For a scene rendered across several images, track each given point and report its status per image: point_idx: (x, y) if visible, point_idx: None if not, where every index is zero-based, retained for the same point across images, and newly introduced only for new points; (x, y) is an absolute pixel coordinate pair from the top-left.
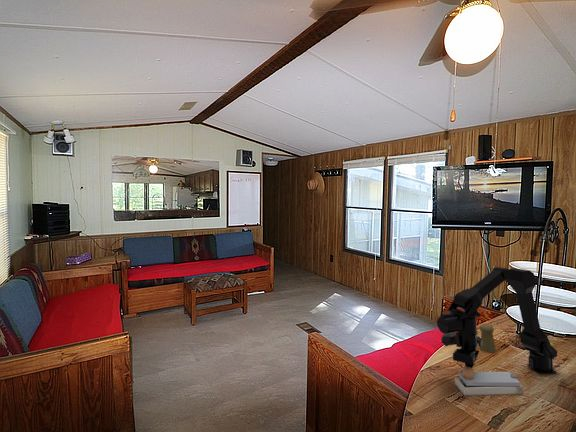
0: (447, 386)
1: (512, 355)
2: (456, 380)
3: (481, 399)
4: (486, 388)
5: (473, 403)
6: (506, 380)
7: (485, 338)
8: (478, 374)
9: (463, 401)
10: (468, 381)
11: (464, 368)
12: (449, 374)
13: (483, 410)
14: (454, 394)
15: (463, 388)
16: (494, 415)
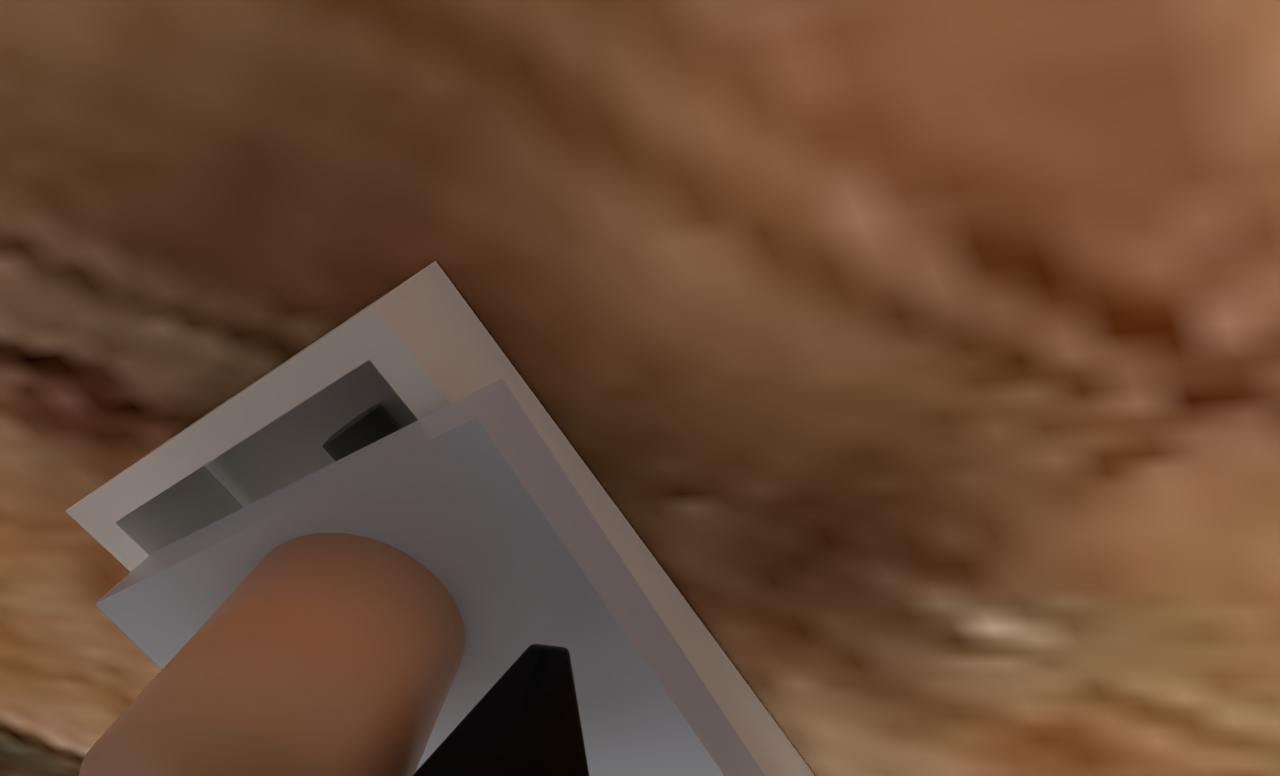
0: (259, 126)
1: None
2: (326, 335)
3: None
4: None
5: (69, 551)
6: None
7: None
8: (596, 773)
9: (4, 437)
10: (158, 635)
11: (165, 761)
12: (832, 67)
13: (16, 647)
14: (83, 293)
15: (97, 488)
16: (20, 731)
